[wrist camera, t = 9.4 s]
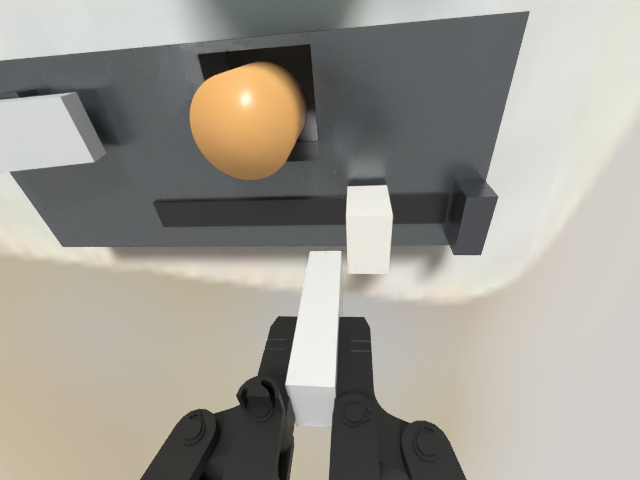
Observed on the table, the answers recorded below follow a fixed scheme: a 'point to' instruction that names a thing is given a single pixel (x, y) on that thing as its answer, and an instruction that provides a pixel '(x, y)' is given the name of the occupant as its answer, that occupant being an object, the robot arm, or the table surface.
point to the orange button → (248, 119)
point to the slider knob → (368, 229)
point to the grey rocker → (46, 133)
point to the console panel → (306, 157)
